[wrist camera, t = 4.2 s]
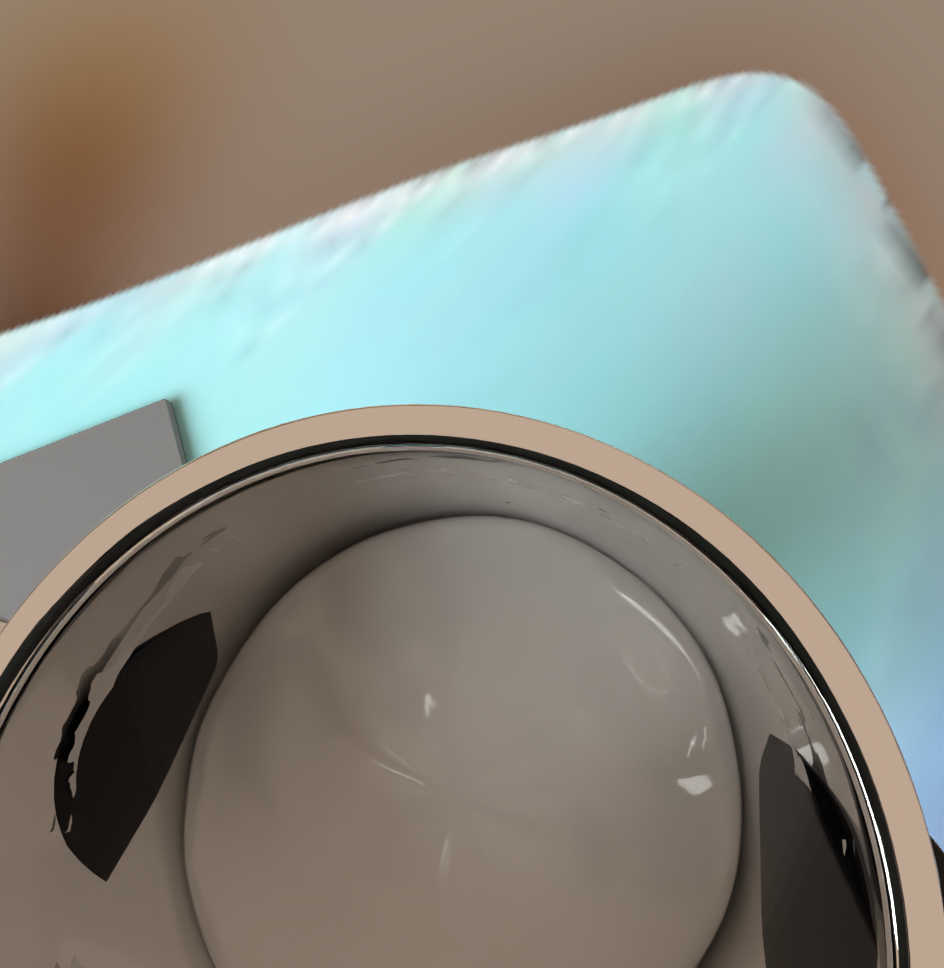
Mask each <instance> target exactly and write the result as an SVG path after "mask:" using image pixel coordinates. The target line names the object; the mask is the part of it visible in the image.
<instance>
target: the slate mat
mask: <svg viewBox="0 0 944 968" xmlns="http://www.w3.org/2000/svg"><path fill="white" fill-rule="evenodd" d="M185 464H187V461H186V457H185V453H184V449H183V446H182V442H181V438H180V434H179V430H178V426H177V423H176V419H175V415H174V411H173V407H172V404H171V403H170V402H169V401H167V400H166V399H163V400H161V401H158V402H155V403H153V404H150V405H148V406H145V407H143V408H140V409H138V410H135V411H133V412H130V413H127V414H125V415H122V416H120V417H117V418H115V419H112V420H110V421H107V422H105V423H102V424H100V425H97V426H94V427H92V428H89V429H87V430H84V431H82V432H79V433H77V434H74V435H72V436H69V437H66V438H64V439H61V440H59V441H56V442H54V443H51V444H49V445H46V446H44V447H41V448H38V449H36V450H33V451H31V452H28V453H26V454H23V455H21V456H18V457H16V458H13V459H11V460H8V461H5V462H3V463H0V632H1V630H2V629H3V627H4V626H5V625H6V623H7V622H8V621H9V619H10V618H11V617H12V615H13V614H14V613H15V611H16V610H17V609H18V607H19V606H20V605H21V604H22V602H23V601H24V600H25V599H26V597H27V596H28V595H29V594H30V592H31V591H32V590H33V589H34V588H35V586H36V585H37V584H38V583H39V582H40V581H41V580H42V578H43V577H44V576H45V575H46V574H47V573H48V572H49V571H50V570H51V568H52V567H53V566H54V565H55V564H56V563H57V562H58V561H59V560H60V559H61V558H62V557H63V556H64V555H65V554H66V553H67V552H68V551H69V550H70V549H71V548H72V547H73V546H74V545H75V544H76V543H78V542H79V541H80V540H81V539H82V538H83V537H84V536H85V535H86V534H87V533H88V532H90V531H91V530H92V529H93V528H94V527H95V526H97V525H98V524H99V523H100V522H101V521H102V520H103V519H105V518H106V517H107V516H108V515H110V514H111V513H112V512H114V511H115V510H116V509H117V508H119V507H120V506H121V505H123V504H124V503H125V502H127V501H128V500H129V499H131V498H132V497H134V496H135V495H136V494H138V493H139V492H141V491H142V490H144V489H145V488H147V487H148V486H150V485H151V484H153V483H155V482H156V481H158V480H159V479H161V478H162V477H164V476H166V475H167V474H169V473H171V472H172V471H174V470H176V469H177V468H179V467H181V466H183V465H185Z"/></svg>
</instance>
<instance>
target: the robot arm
mask: <svg viewBox="0 0 944 968" xmlns="http://www.w3.org/2000/svg"><path fill="white" fill-rule="evenodd" d="M217 660H218V648H217V643H216V638H215V632H214V627H213V621H212V616H211V612H205V613H201V614H198V615H195V616H193V617H191V618H188V619H186V620H184V621H181V622H179V623H177V624H176V625H174V626H172V627H170V628H169V629H167V630H165V631H164V632H162V633H161V634H159V635H158V636H156V637H155V638H153V639H152V640H151V641H149V642H148V643H146V644H145V645H144V646H142V647H141V648H139V649H138V650H137V651H135V652H134V653H133V654H132V655H130V657H129V658H128V660H127V661H126V663H125V664H124V666H123V667H122V669H121V670H120V672H119V673H118V675H117V677H116V680H115V682H114V686H113V688H112V689H111V690H110V692H109V693H108V694H107V696H106V697H105V699H104V700H103V702H102V703H101V705H100V706H99V708H98V710H97V712H96V713H95V715H94V717H93V719H92V721H91V723H90V725H89V728H88V730H87V733H86V735H85V737H84V740H83V743H82V747H81V750H80V754H79V758H78V764H77V772H76V793H75V795H74V798H73V796H72V790H71V789H70V783H69V782H68V781H69V778H70V777H71V776H72V774H73V773H74V772H75V771H74V770H73V769H74V761H73V762H71V763H68V758H69V754H70V752H71V750H72V749H73V747H74V744H75V731H76V730H77V728H78V727H79V725H80V723H81V721H82V720H83V718H84V716H85V714H86V712H87V710H88V708H89V705H90V701H89V700H88V696H89V694H88V696H87V697H86V698H85V699H84V700H83V702H82V703H81V704H80V706H79V708H78V710H77V711H76V713H75V715H74V717H73V719H72V721H71V722H70V724H69V727H68V729H67V732H66V735H65V737H64V740H63V742H62V745H61V749H60V752H59V756H58V759H57V763H56V770H55V777H54V803H55V811H56V817H57V821H58V824H59V827H60V831H61V833H62V836H63V838H64V840H65V843H66V845H67V846H68V848H69V849H70V850H71V851H72V853H73V854H74V855H75V856H76V857H77V859H78V860H79V861H80V862H81V863H82V864H84V865H85V866H86V867H87V868H88V869H89V870H90V871H91V872H92V873H94V874H95V875H97V876H98V877H100V878H101V879H102V880H104V881H105V882H107V880H108V879H109V877H110V875H111V874H112V872H113V870H114V869H115V867H116V865H117V864H118V862H119V860H120V859H121V857H122V855H123V853H124V852H125V850H126V848H127V847H128V845H129V843H130V842H131V840H132V838H133V837H134V835H135V833H136V831H137V830H138V828H139V826H140V825H141V823H142V821H143V820H144V818H145V816H146V814H147V813H148V811H149V809H150V807H151V805H152V804H153V802H154V800H155V798H156V797H157V795H158V793H159V791H160V789H161V787H162V785H163V782H164V780H165V778H166V776H167V774H168V772H169V770H170V768H171V766H172V763H173V761H174V759H175V757H176V755H177V753H178V750H179V748H180V746H181V744H182V742H183V740H184V737H185V735H186V733H187V731H188V729H189V727H190V724H191V722H192V720H193V718H194V716H195V714H196V711H197V709H198V707H199V705H200V703H201V700H202V698H203V696H204V694H205V692H206V690H207V687H208V685H209V683H210V681H211V679H212V677H213V674H214V672H215V669H216V665H217ZM794 749H795V748H794ZM795 751H796V753H797V755H798V757H801V760H802V762H803V765H804V767H805V770H806V774H807V777H808V781H809V785H810V788H811V790H810V789H809V788H808V786H807V785H806V784H805V782H804V781H802V780H801V779H800V778H799V776H798V774H797V776H796V775H795V770H794V768H795V763H794V756H793V751H792V747H791V746H790V745H789V744H787V743H785V742H784V741H782V740H780V739H779V738H777V737H775V736H774V735H772V734H770V735H769V737H768V740H767V743H766V746H765V749H764V751H763V754H762V758H761V763H760V770H759V815H760V866H761V912H762V936H763V946H764V955H765V964H766V968H877V962H878V950H877V943H876V938H875V933H874V927H873V924H872V920H871V917H870V914H869V911H868V908H867V904H866V901H865V898H864V895H863V892H862V889H861V886H860V883H859V880H858V878H857V875H856V872H855V869H854V867H853V864H852V861H851V859H850V856H849V854H848V851H847V849H846V851H845V856H844V854H843V844H842V837H841V834H840V832H839V830H838V827H837V825H836V823H835V821H834V819H833V816H832V814H831V812H830V810H829V808H828V805H827V803H826V801H825V799H824V797H823V795H822V793H821V791H820V789H819V787H818V785H817V783H816V781H815V779H814V777H813V775H812V773H811V771H810V770H809V768H808V766H807V764H806V763H805V761H804V759H803V758H802V756H801V755H800V754H799V752H798V751H797V750H796V749H795ZM799 755H800V756H799ZM813 795H814V796H813ZM71 815H72V824H71V829H70V832H66V831H67V830H68V827H69V822H70V817H71ZM65 832H66V833H65ZM929 836H930V835H929ZM930 839H931V843H932V848H933V852H934V856H935V860H936V865H937V869H938V875H939V881H940V886H941V892H942V897H943V904H944V852H943V851H942V850H941V848H940V847H939V846H938V845H937V843H936V842H935V841H934V840H933V838H932V837H931V836H930Z"/></svg>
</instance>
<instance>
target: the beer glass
mask: <svg viewBox="0 0 944 968" xmlns="http://www.w3.org/2000/svg"><path fill="white" fill-rule="evenodd" d="M205 612H211V616H212V621H213V627H214V632H215V638H216V643H217V648H218V660H217V665H216V669H215V672H214V674H213V677H212V679H211V681H210V683H209V685H208V687H207V690H206V692H205V694H204V696H203V698H202V700H201V703H200V705H199V707H198V709H197V711H196V714H195V716H194V718H193V720H192V722H191V724H190V727H189V729H188V731H187V733H186V735H185V737H184V740H183V742H182V744H181V746H180V748H179V750H178V753H177V755H176V757H175V759H174V761H173V763H172V766H171V768H170V770H169V772H168V774H167V776H166V778H165V780H164V782H163V785H162V787H161V789H160V791H159V793H158V795H157V797H156V798H155V800H154V802H153V804H152V805H151V807H150V809H149V811H148V813H147V814H146V816H145V818H144V820H143V821H142V823H141V825H140V826H139V828H138V830H137V831H136V833H135V835H134V837H133V838H132V840H131V842H130V843H129V845H128V847H127V848H126V850H125V852H124V853H123V855H122V857H121V859H120V860H119V862H118V864H117V865H116V867H115V869H114V870H113V872H112V874H111V875H110V877H109V879H108V880H107V882H105V881H104V880H102V879H101V878H100V877H98V876H97V875H95V874H94V873H92V872H91V871H90V870H89V869H88V868H87V867H86V866H85V865H84V864H82V863H81V862H80V861H79V860H78V859H77V857H76V856H75V855H74V854H73V853H72V851H71V850H70V849H69V848H68V846H67V845H66V843H65V840H64V838H63V836H62V833H61V831H60V827H59V824H58V821H57V817H56V811H55V803H54V777H55V770H56V763H57V759H58V756H59V752H60V749H61V745H62V742H63V740H64V737H65V735H66V732H67V729H68V727H69V724H70V722H71V721H72V719H73V717H74V715H75V713H76V711H77V710H78V708H79V706H80V704H81V703H82V702H83V700H84V699H85V698H86V697H87V696H88V694H89V696H88V700H89V701H90V705H89V708H88V710H87V712H86V714H85V716H84V718H83V720H82V721H81V723H80V725H79V727H78V728H77V730H76V731H75V744H74V747H73V749H72V750H71V752H70V754H69V758H68V763H71V762H73V761H74V769H73V770H74V771H75V772H74V773H73V774H72V776H71V777H70V778H69V781H68V782H69V783H70V789H71V790H72V796H73V798H74V795H75V793H76V772H77V764H78V758H79V754H80V750H81V747H82V743H83V740H84V737H85V735H86V733H87V730H88V728H89V725H90V723H91V721H92V719H93V717H94V715H95V713H96V712H97V710H98V708H99V706H100V705H101V703H102V702H103V700H104V699H105V697H106V696H107V694H108V693H109V692H110V690H111V689H112V688H113V686H114V682H115V680H116V677H117V675H118V673H119V672H120V670H121V669H122V667H123V666H124V664H125V663H126V661H127V660H128V658H129V657H130V655H132V654H133V653H134V652H135V651H137V650H138V649H139V648H141V647H142V646H144V645H145V644H146V643H148V642H149V641H151V640H152V639H153V638H155V637H156V636H158V635H159V634H161V633H162V632H164V631H165V630H167V629H169V628H170V627H172V626H174V625H176V624H177V623H179V622H181V621H184V620H186V619H188V618H191V617H193V616H195V615H198V614H201V613H205ZM770 734H772V735H774V736H775V737H777V738H779V739H780V740H782V741H784V742H785V743H787V744H789V745H790V746H791V747H792V751H793V756H794V763H795V768H794V770H795V775H796V776H797V774H798V776H799V778H800V779H801V780H802V781H804V782H805V784H806V785H807V786H808V788H809V789H810V790H811V788H810V785H809V781H808V777H807V774H806V770H805V767H804V765H803V762H802V760H801V757H798V755H797V753H796V751H795V749H796V750H797V751H798V752H799V754H800V755H801V756H802V758H803V759H804V761H805V763H806V764H807V766H808V768H809V770H810V771H811V773H812V775H813V777H814V779H815V781H816V783H817V785H818V787H819V789H820V791H821V793H822V795H823V797H824V799H825V801H826V803H827V805H828V808H829V810H830V812H831V814H832V816H833V819H834V821H835V823H836V825H837V827H838V830H839V832H840V834H841V837H842V844H843V854H844V856H845V851H846V849H847V851H848V854H849V856H850V859H851V861H852V864H853V867H854V869H855V872H856V875H857V878H858V880H859V883H860V886H861V889H862V892H863V895H864V898H865V901H866V904H867V908H868V911H869V914H870V917H871V920H872V924H873V927H874V933H875V938H876V943H877V950H878V962H877V968H944V904H943V897H942V892H941V886H940V881H939V875H938V869H937V865H936V860H935V856H934V852H933V848H932V843H931V839H930V836H929V832H928V829H927V825H926V821H925V818H924V814H923V811H922V808H921V805H920V802H919V799H918V796H917V793H916V789H915V786H914V783H913V781H912V778H911V775H910V773H909V770H908V767H907V765H906V762H905V759H904V757H903V754H902V752H901V750H900V747H899V745H898V743H897V740H896V738H895V736H894V733H893V731H892V729H891V727H890V725H889V723H888V721H887V719H886V717H885V715H884V713H883V711H882V708H881V706H880V704H879V703H878V701H877V699H876V697H875V695H874V693H873V692H872V690H871V688H870V686H869V684H868V682H867V681H866V679H865V677H864V675H863V674H862V672H861V670H860V669H859V667H858V665H857V664H856V662H855V660H854V659H853V657H852V655H851V654H850V652H849V651H848V649H847V648H846V646H845V645H844V643H843V642H842V640H841V639H840V638H839V636H838V635H837V633H836V632H835V630H834V629H833V628H832V626H831V625H830V624H829V622H828V621H827V620H826V618H825V617H824V615H823V614H822V613H821V612H820V610H819V609H818V608H817V606H816V605H815V604H814V603H813V601H812V600H811V599H810V598H809V596H808V595H807V594H806V593H805V591H804V590H803V589H802V588H801V587H800V586H799V585H798V583H797V582H796V581H795V580H794V579H793V578H792V577H791V575H790V574H789V573H788V572H787V571H786V570H785V569H784V568H783V567H782V566H781V565H780V564H779V563H778V562H777V561H776V560H775V559H774V558H773V556H772V555H771V554H770V553H768V552H767V551H766V550H765V549H764V548H763V547H762V546H761V545H760V544H759V543H758V542H757V541H756V540H755V539H754V538H753V537H751V536H750V535H749V534H748V533H747V532H746V531H745V530H743V529H742V528H741V527H740V526H739V525H738V524H737V523H735V522H734V521H733V520H732V519H731V518H729V517H728V516H727V515H725V514H724V513H723V512H722V511H720V510H719V509H718V508H717V507H715V506H714V505H713V504H711V503H710V502H708V501H707V500H706V499H704V498H703V497H701V496H700V495H699V494H697V493H696V492H694V491H693V490H691V489H690V488H688V487H687V486H685V485H684V484H682V483H680V482H679V481H677V480H676V479H674V478H673V477H671V476H669V475H667V474H666V473H664V472H662V471H661V470H659V469H657V468H656V467H654V466H652V465H650V464H648V463H646V462H645V461H643V460H641V459H639V458H637V457H635V456H633V455H631V454H629V453H627V452H625V451H623V450H620V449H618V448H616V447H614V446H612V445H609V444H607V443H604V442H602V441H600V440H597V439H595V438H592V437H590V436H587V435H584V434H582V433H579V432H576V431H573V430H571V429H568V428H565V427H561V426H558V425H555V424H551V423H548V422H545V421H541V420H537V419H533V418H529V417H525V416H520V415H515V414H510V413H506V412H500V411H494V410H488V409H482V408H473V407H465V406H454V405H436V404H400V405H382V406H369V407H361V408H353V409H346V410H340V411H335V412H329V413H324V414H319V415H315V416H310V417H306V418H302V419H298V420H294V421H290V422H287V423H283V424H280V425H277V426H273V427H270V428H267V429H264V430H261V431H258V432H256V433H253V434H250V435H248V436H245V437H242V438H240V439H237V440H235V441H233V442H230V443H228V444H226V445H223V446H221V447H219V448H217V449H214V450H212V451H210V452H208V453H206V454H204V455H202V456H200V457H198V458H196V459H194V460H192V461H190V462H188V463H187V464H185V465H183V466H181V467H179V468H177V469H176V470H174V471H172V472H171V473H169V474H167V475H166V476H164V477H162V478H161V479H159V480H158V481H156V482H155V483H153V484H151V485H150V486H148V487H147V488H145V489H144V490H142V491H141V492H139V493H138V494H136V495H135V496H134V497H132V498H131V499H129V500H128V501H127V502H125V503H124V504H123V505H121V506H120V507H119V508H117V509H116V510H115V511H114V512H112V513H111V514H110V515H108V516H107V517H106V518H105V519H103V520H102V521H101V522H100V523H99V524H98V525H97V526H95V527H94V528H93V529H92V530H91V531H90V532H88V533H87V534H86V535H85V536H84V537H83V538H82V539H81V540H80V541H79V542H78V543H76V544H75V545H74V546H73V547H72V548H71V549H70V550H69V551H68V552H67V553H66V554H65V555H64V556H63V557H62V558H61V559H60V560H59V561H58V562H57V563H56V564H55V565H54V566H53V567H52V568H51V570H50V571H49V572H48V573H47V574H46V575H45V576H44V577H43V578H42V580H41V581H40V582H39V583H38V584H37V585H36V586H35V588H34V589H33V590H32V591H31V592H30V594H29V595H28V596H27V597H26V599H25V600H24V601H23V602H22V604H21V605H20V606H19V607H18V609H17V610H16V611H15V613H14V614H13V615H12V617H11V618H10V619H9V621H8V622H7V623H6V625H5V626H4V627H3V629H2V630H1V632H0V968H766V964H765V955H764V946H763V936H762V912H761V866H760V815H759V770H760V763H761V758H762V754H763V751H764V749H765V746H766V743H767V740H768V737H769V735H770ZM794 748H795V749H794ZM800 755H799V756H800ZM813 796H814V795H813ZM71 824H72V815H71V817H70V822H69V827H68V830H67V831H66V832H70V829H71ZM66 832H65V833H66Z"/></svg>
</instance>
